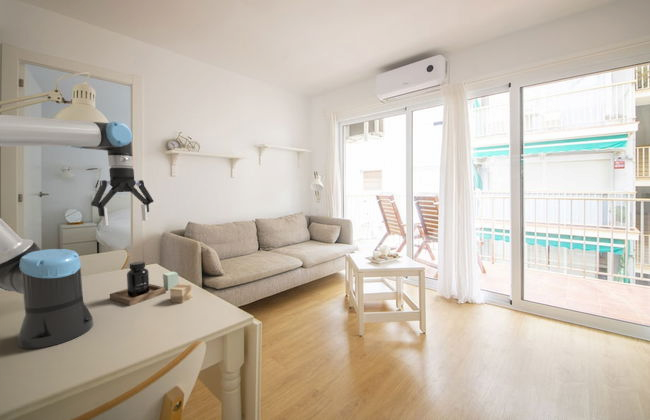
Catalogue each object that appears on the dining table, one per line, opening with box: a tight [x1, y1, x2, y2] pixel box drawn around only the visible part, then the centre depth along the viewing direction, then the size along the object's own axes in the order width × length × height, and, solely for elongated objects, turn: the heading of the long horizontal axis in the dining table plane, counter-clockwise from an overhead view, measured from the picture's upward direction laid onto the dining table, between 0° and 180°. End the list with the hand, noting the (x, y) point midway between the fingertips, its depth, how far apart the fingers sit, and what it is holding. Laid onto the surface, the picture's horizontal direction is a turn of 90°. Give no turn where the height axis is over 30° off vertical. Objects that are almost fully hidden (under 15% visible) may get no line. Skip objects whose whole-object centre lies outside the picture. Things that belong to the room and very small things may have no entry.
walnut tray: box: [109, 283, 167, 307], centre depth 104 cm, size 13×13×2 cm
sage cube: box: [162, 271, 179, 291], centre depth 113 cm, size 4×4×6 cm
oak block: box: [169, 283, 193, 304], centre depth 101 cm, size 5×5×5 cm
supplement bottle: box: [126, 261, 150, 297], centre depth 104 cm, size 7×7×12 cm
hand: (126, 222), depth 107 cm, fingers open, 13 cm apart
